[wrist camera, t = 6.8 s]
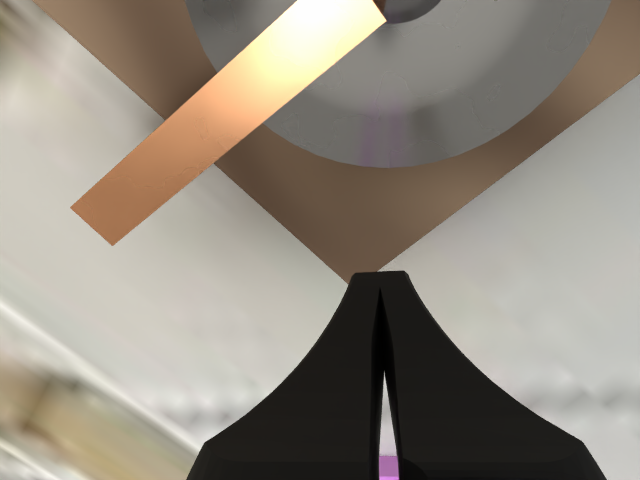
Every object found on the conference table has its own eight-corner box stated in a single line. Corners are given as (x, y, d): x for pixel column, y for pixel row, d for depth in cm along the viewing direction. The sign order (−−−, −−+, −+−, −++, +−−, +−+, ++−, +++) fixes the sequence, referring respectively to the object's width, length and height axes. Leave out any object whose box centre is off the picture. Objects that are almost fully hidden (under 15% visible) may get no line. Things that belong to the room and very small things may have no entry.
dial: (462, -500, 11) (519, -762, 7) (680, -9, 15) (794, 5, 11) (12, 35, 17) (-94, 60, 13) (255, 278, 21) (231, 353, 17)
